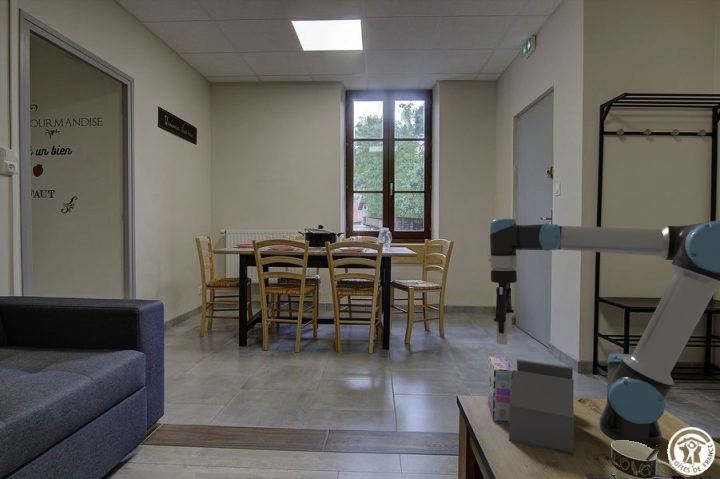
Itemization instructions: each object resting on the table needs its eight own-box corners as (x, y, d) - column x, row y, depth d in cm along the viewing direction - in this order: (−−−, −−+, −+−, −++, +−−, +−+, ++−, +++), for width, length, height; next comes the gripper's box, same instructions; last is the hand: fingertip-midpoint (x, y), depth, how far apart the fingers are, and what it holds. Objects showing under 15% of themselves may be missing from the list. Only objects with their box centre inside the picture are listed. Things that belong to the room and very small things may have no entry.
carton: (571, 423, 123) (572, 391, 123) (573, 455, 105) (574, 418, 105) (516, 412, 131) (517, 381, 130) (509, 440, 113) (509, 405, 113)
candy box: (512, 423, 123) (513, 370, 122) (492, 421, 124) (493, 369, 124) (505, 404, 136) (506, 356, 136) (487, 402, 137) (488, 355, 137)
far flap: (571, 391, 123) (571, 389, 124) (572, 368, 119) (572, 367, 119) (517, 382, 130) (518, 380, 131) (516, 360, 126) (516, 359, 126)
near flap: (573, 380, 109) (573, 379, 109) (573, 418, 105) (573, 417, 105) (513, 370, 117) (512, 369, 116) (510, 405, 112) (510, 405, 112)
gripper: (496, 266, 135) (497, 328, 135) (484, 272, 113) (485, 347, 113) (520, 266, 132) (521, 330, 132) (512, 273, 109) (513, 350, 110)
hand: (504, 338), depth 122 cm, fingers open, 13 cm apart
